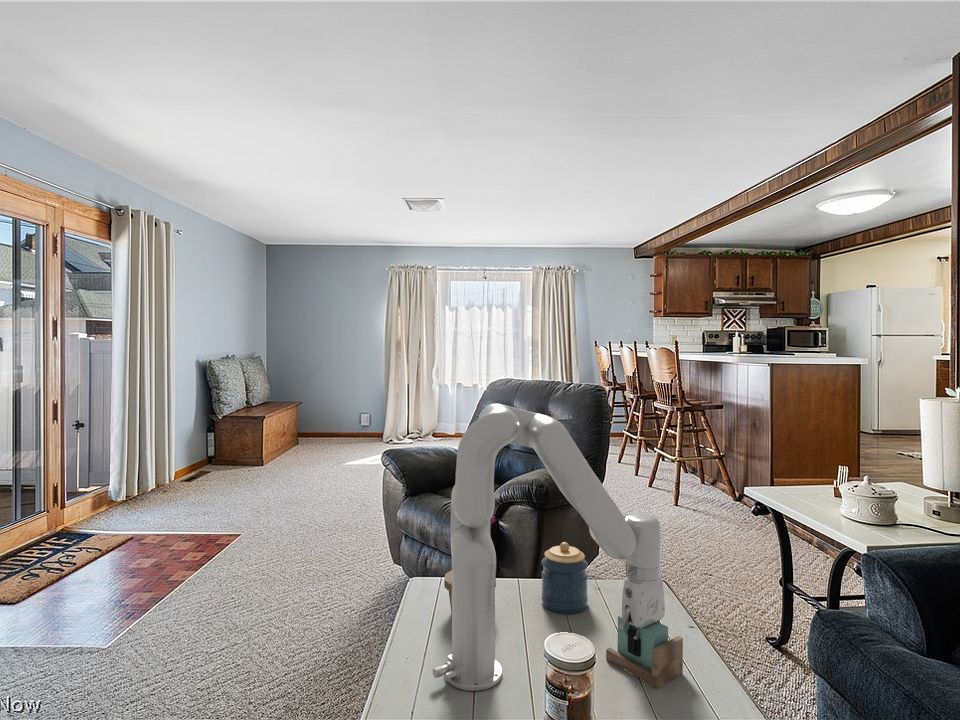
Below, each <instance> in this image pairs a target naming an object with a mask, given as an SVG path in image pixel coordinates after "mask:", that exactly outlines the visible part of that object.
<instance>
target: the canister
mask: <svg viewBox="0 0 960 720" xmlns="http://www.w3.org/2000/svg"><path fill="white" fill-rule="evenodd" d="M585 557H586V556H585V554H584V552H582V551H581V550H580V549H578V548H577V547H575V546H572V545H571V546H570V545H569V543H568V542H566V541H563V542H561V543H560V545H555V546H552V547H551V548H549V549H547V550H546V551H545V552H544V558H542V560H541V565H542V567H543V570H542V571H541V580H542V582H541V585H542V586H541V587H542V589H541V590H542V591H541V600H542V606H544V607H545V608H546V609H547V610H548V611H551V612H554V613H556V614H566V615H567V614H568V615H570V614H572V615H573V614H578V613H580V612H583V611H585V610H586V608H587V606H588V602H589V599H588V598H589V596H588V576H589V575H588V573H587V569H588V566H589V564H588V562H587V560H586V559H585Z"/></svg>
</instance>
